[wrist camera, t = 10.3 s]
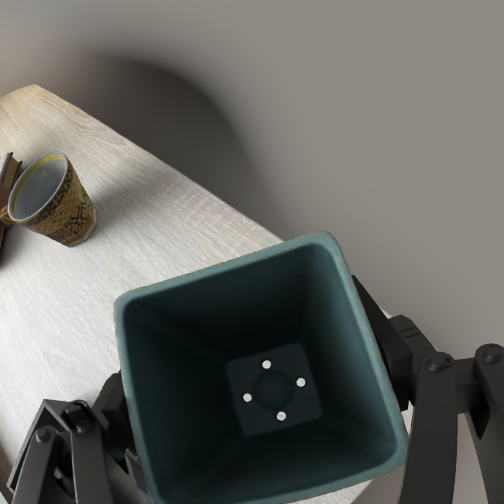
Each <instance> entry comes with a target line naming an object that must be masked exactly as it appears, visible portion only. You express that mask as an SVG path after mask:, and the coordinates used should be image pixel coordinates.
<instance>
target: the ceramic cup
mask: <svg viewBox="0 0 504 504" xmlns="http://www.w3.org/2000/svg"><path fill="white" fill-rule="evenodd" d="M7 213H8V214H9V217H10V218H11V219H8V218H6V217H5V216H4V214H7ZM1 218H2V220H3V221H5V222H7V223H12V224H17V223H18V224H19V225H21V226H23V227H25V228H27V229H29V230H31V231H34V232H36V233H39V234H42V235H45V236H47V237H49V238H51V239H53V240H55V241H57V242H59V243H61V244H63V245H65V246H67V247H74V246H76V245H78V244H80V243H82V242H85V241H86V240H87V239H88V237H89V236H90V234H91V233H92V231H93V230H94V228H95V226H96V225H97V214H96V208H95V207H94V205H93V203H92V202H91V200H90V198H89V196H88V195H87V193H86V191H85V189H84V187H83V186H82V184H81V182H80V180H79V178H78V176H77V174H76V172H75V170H74V168H73V166H72V165H71V163H70V161H69V160H68V158H67V157H66V155H65V154H63V153H61V152H51V153H48V154H46V155H44V156H42V157H40V158H39V159H37V160H36V161H34V162H33V163H32V164H31V165H30V166H29V167H28V168H27V169H26V170H25V171H24V172H23V173H22V175H21V176H20V177H19V179H18V180H17V182H16V184H15V185H14V187H13V190H12V192H11V194H10V197H9V202H8V205H6V206H5V207H4V208H3V209H2V211H1Z"/></svg>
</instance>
